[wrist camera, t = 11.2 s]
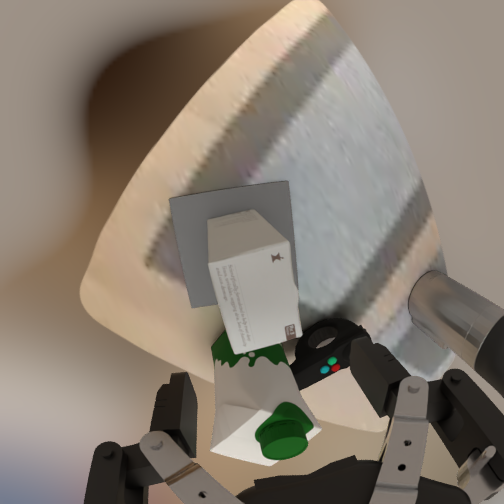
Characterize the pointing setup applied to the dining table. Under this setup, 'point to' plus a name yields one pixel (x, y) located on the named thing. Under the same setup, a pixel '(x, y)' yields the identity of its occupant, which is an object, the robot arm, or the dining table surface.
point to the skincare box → (253, 281)
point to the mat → (216, 205)
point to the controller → (324, 350)
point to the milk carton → (258, 406)
